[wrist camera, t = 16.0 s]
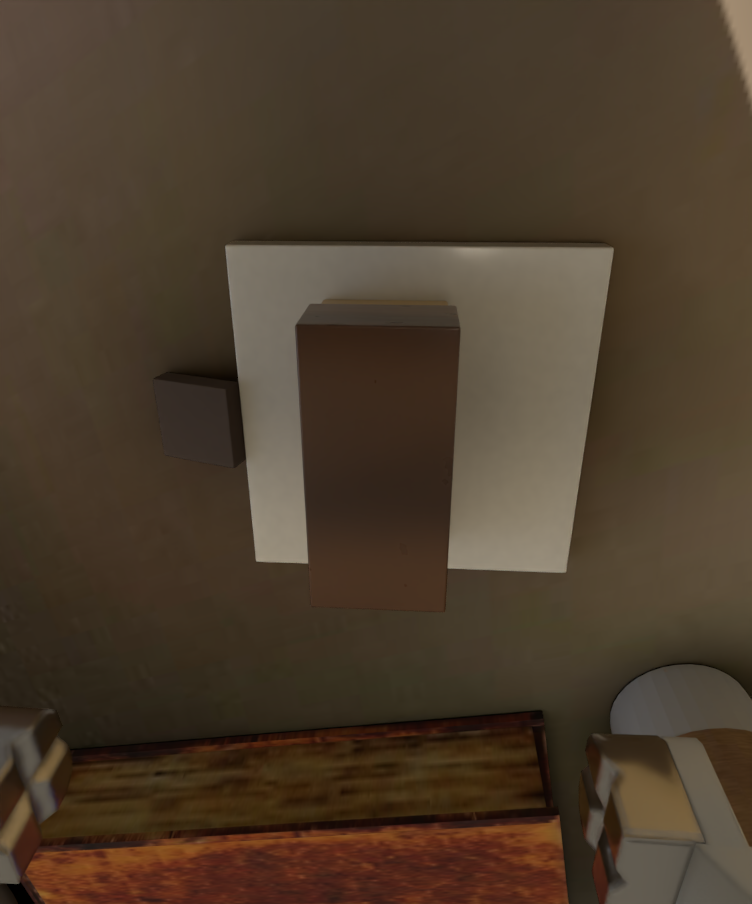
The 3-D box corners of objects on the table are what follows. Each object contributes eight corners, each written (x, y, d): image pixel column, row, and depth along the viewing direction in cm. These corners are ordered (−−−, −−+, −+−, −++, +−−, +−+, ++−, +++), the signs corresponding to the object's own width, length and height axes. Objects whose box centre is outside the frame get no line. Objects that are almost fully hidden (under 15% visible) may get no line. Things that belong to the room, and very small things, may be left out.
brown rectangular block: (316, 292, 21) (294, 324, 18) (454, 293, 21) (460, 327, 17) (326, 540, 25) (310, 607, 22) (442, 543, 25) (445, 613, 21)
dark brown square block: (166, 371, 24) (152, 378, 23) (238, 381, 23) (225, 389, 22) (177, 446, 25) (164, 455, 24) (246, 459, 24) (234, 468, 23)
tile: (232, 240, 22) (223, 245, 21) (606, 242, 21) (614, 247, 20) (261, 547, 27) (255, 562, 26) (561, 558, 26) (566, 573, 25)
